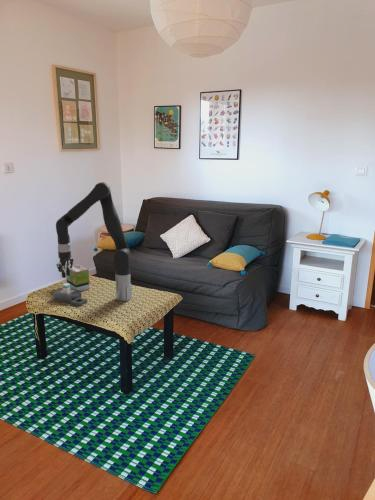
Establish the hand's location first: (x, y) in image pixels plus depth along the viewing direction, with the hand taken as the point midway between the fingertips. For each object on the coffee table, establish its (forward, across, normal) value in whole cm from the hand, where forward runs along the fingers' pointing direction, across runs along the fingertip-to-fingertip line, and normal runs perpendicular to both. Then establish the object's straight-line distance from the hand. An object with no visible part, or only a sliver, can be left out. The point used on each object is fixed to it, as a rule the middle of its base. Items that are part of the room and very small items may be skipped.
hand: (66, 276), depth 242 cm
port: (+15, 0, 0) cm, 15 cm away
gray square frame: (+15, -3, -11) cm, 19 cm away
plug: (+14, 0, 0) cm, 14 cm away
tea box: (+15, +19, +6) cm, 25 cm away
